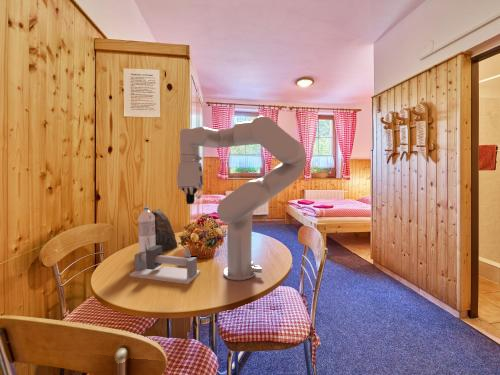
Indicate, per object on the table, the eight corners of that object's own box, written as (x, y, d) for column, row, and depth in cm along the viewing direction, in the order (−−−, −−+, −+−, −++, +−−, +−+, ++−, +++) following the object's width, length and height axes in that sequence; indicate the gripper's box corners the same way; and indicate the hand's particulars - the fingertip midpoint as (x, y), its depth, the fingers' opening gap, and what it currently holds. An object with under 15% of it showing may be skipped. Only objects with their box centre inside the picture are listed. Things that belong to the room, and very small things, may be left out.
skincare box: (199, 253, 121) (198, 229, 120) (197, 257, 117) (197, 232, 116) (186, 254, 121) (186, 229, 120) (184, 257, 117) (184, 232, 116)
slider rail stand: (200, 272, 100) (200, 254, 99) (188, 284, 90) (187, 263, 89) (146, 266, 106) (146, 249, 105) (129, 276, 96) (129, 257, 96)
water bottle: (150, 267, 105) (148, 208, 103) (136, 265, 106) (134, 208, 104) (159, 261, 112) (157, 206, 110) (145, 260, 113) (144, 205, 111)
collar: (162, 263, 102) (162, 245, 101) (153, 269, 96) (152, 250, 95) (156, 262, 102) (155, 245, 102) (146, 268, 96) (145, 250, 96)
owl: (158, 253, 121) (156, 213, 120) (142, 249, 128) (141, 210, 127) (178, 247, 132) (177, 209, 130) (163, 242, 139) (162, 207, 137)
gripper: (210, 159, 104) (210, 203, 106) (178, 159, 108) (179, 201, 109) (202, 159, 97) (203, 205, 98) (168, 159, 101) (169, 204, 102)
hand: (190, 203), depth 104 cm, fingers closed
